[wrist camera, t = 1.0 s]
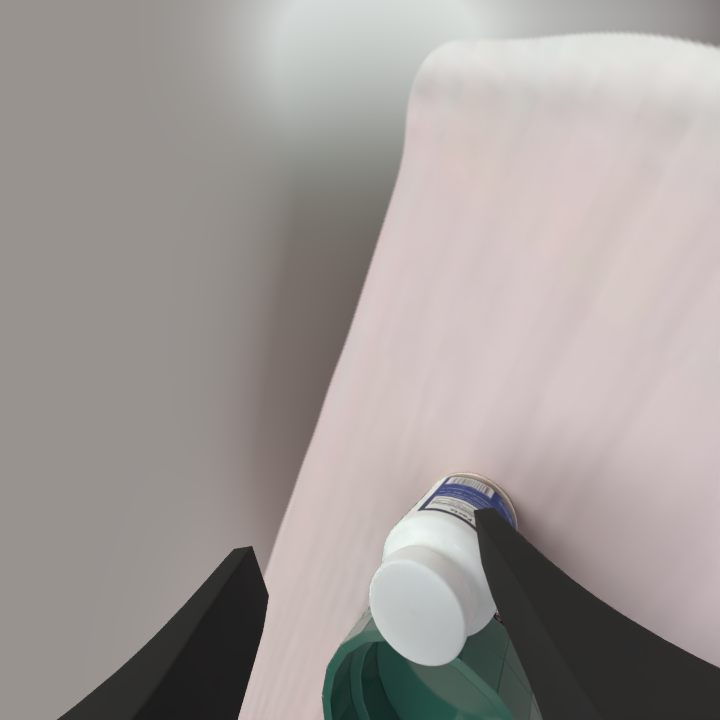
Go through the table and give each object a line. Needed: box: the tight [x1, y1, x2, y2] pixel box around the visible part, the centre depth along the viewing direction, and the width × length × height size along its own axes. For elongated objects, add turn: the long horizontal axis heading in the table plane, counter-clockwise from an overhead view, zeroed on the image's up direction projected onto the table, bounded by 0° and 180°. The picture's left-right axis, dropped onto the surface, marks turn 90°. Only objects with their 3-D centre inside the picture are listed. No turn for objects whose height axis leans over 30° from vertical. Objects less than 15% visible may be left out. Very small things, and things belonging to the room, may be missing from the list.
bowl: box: [322, 607, 543, 720], centre depth 22 cm, size 12×12×5 cm
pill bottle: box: [369, 472, 517, 666], centre depth 19 cm, size 5×5×10 cm
